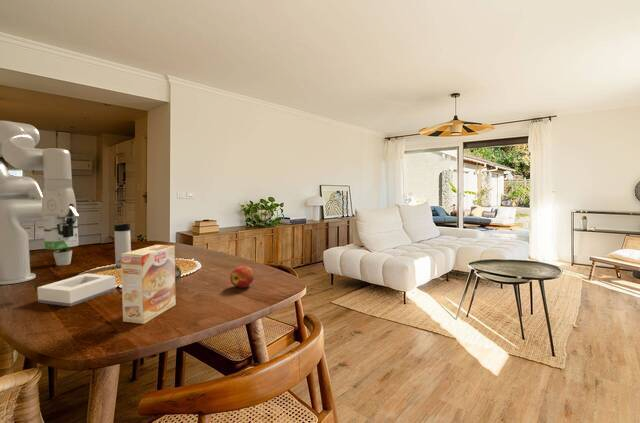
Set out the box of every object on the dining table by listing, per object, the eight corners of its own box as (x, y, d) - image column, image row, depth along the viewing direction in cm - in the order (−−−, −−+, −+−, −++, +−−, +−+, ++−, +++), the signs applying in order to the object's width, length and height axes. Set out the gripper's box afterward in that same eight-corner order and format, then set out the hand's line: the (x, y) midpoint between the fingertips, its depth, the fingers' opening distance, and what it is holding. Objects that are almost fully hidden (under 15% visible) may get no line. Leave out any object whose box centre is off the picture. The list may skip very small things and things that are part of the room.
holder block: (38, 302, 104) (37, 287, 104) (87, 286, 121) (86, 273, 120) (70, 306, 101) (69, 290, 101) (116, 289, 118) (115, 276, 117)
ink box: (55, 249, 109) (53, 214, 108) (44, 249, 110) (41, 214, 109) (79, 245, 118) (77, 212, 117) (68, 244, 118) (66, 212, 118)
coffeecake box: (144, 324, 90) (142, 255, 88) (121, 322, 91) (119, 253, 89) (177, 304, 104) (175, 245, 103) (157, 303, 105) (155, 244, 104)
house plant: (32, 267, 146) (29, 231, 145) (61, 260, 160) (59, 227, 159) (58, 268, 144) (56, 232, 143) (86, 261, 158) (84, 228, 156)
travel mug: (120, 268, 147) (118, 224, 145) (113, 266, 150) (111, 223, 148) (134, 265, 152) (133, 223, 150) (126, 263, 155) (125, 222, 154)
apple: (226, 288, 121) (226, 267, 121) (242, 282, 129) (242, 262, 128) (243, 291, 118) (243, 270, 117) (258, 285, 125) (257, 265, 124)
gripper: (27, 184, 110) (31, 237, 112) (67, 184, 106) (70, 239, 108) (50, 184, 118) (53, 234, 119) (88, 184, 114) (91, 235, 115)
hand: (61, 236), depth 113 cm, fingers closed on ink box, 5 cm apart
